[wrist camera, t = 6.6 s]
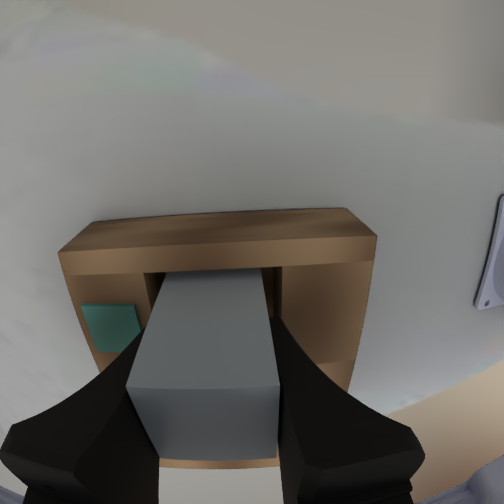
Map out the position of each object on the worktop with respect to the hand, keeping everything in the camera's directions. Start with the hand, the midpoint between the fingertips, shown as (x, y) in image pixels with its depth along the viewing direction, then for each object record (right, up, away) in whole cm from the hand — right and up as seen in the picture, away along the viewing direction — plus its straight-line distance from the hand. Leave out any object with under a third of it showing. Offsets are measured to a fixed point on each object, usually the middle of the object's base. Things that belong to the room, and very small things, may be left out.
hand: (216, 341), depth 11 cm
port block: (0, -2, +6) cm, 6 cm away
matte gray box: (0, +1, +2) cm, 3 cm away
